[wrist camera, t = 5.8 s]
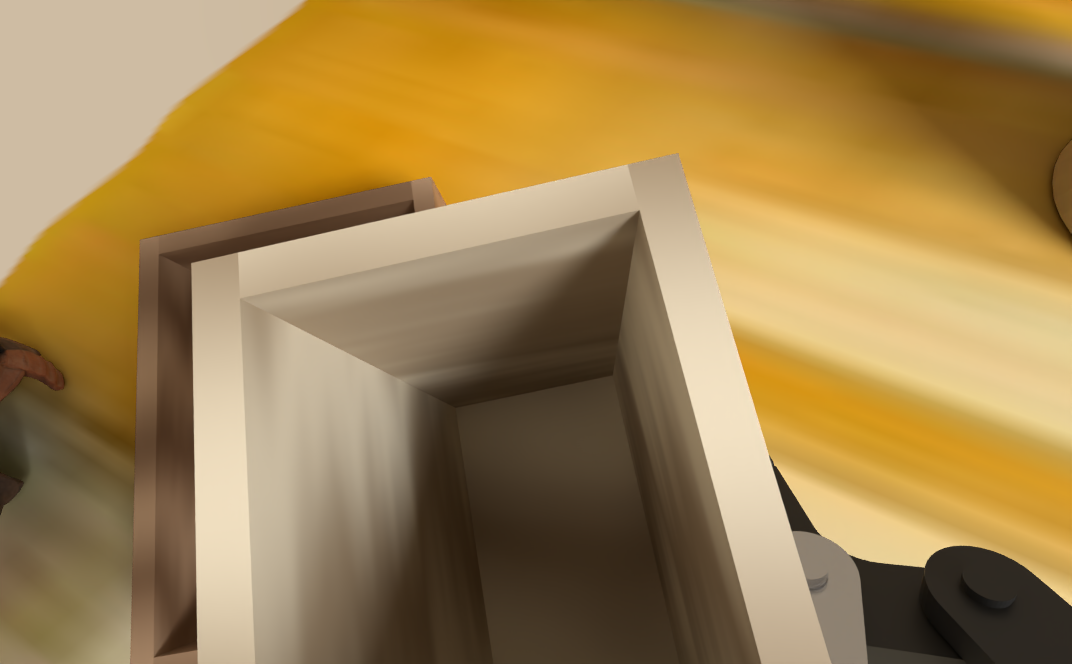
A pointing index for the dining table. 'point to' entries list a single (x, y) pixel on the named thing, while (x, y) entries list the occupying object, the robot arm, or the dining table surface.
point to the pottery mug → (3, 371)
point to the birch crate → (488, 443)
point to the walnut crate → (168, 402)
